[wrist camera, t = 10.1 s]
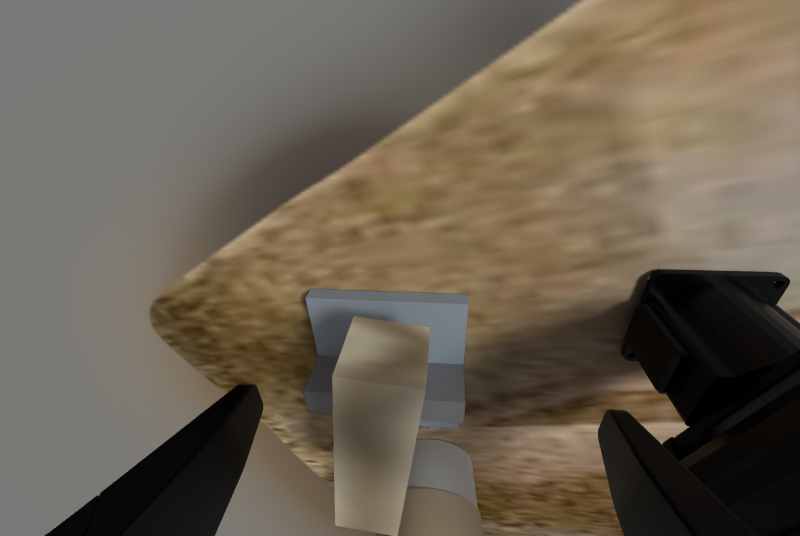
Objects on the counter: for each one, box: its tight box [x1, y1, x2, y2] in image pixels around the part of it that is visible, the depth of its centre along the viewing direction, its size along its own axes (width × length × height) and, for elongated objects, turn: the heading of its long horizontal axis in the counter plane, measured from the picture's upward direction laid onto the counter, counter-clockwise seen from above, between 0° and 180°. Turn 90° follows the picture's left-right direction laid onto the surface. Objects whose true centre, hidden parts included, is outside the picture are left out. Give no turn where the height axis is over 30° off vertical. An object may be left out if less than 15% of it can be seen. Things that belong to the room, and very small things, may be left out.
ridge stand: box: [303, 289, 468, 429], centre depth 24 cm, size 10×12×4 cm
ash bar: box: [332, 316, 430, 536], centre depth 20 cm, size 4×14×4 cm, turn 175°
